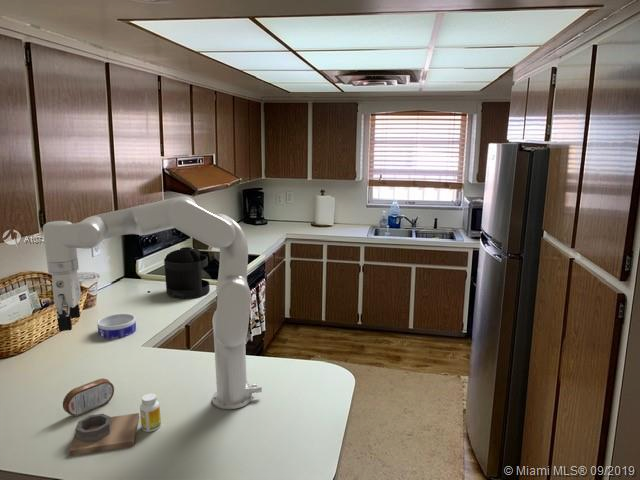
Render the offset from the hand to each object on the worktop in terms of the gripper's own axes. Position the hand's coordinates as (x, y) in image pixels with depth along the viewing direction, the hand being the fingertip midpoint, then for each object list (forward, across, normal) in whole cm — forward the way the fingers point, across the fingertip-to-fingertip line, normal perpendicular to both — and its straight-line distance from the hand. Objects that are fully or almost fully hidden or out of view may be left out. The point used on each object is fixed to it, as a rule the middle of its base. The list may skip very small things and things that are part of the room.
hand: (70, 323), depth 135 cm
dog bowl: (+31, +69, 0) cm, 76 cm away
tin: (+31, +6, -1) cm, 32 cm away
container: (+31, +118, -29) cm, 125 cm away
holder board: (+31, -10, -8) cm, 33 cm away
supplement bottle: (+31, -9, -20) cm, 38 cm away
